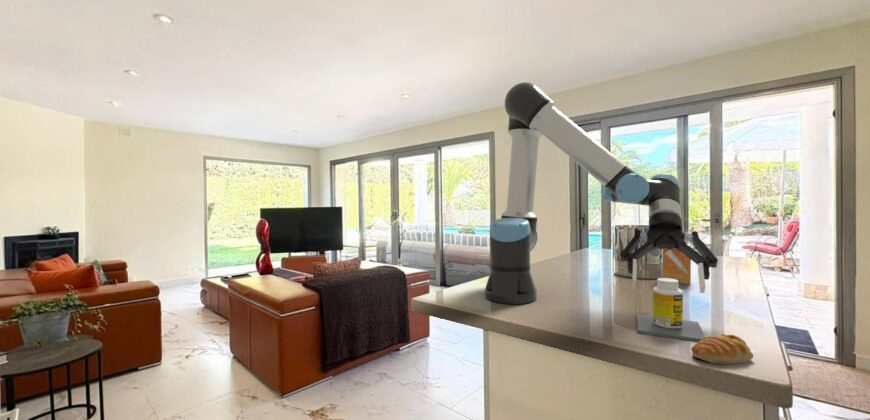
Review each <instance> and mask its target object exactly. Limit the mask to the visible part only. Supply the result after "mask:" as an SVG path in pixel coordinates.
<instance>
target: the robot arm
mask: <svg viewBox="0 0 870 420" xmlns="http://www.w3.org/2000/svg"><path fill="white" fill-rule="evenodd" d="M504 110H505V112H506V114H507V115H508V127H507V128H508V129H507V133H508V134H509V136H511V138H512V139H511V148H510V161H509V162H510V163H509V176H508V186H507V187H508V188H507V198H506V199H507V201H506V209H505V211H503V212H502V213H501V217H500V218H498V219H494V220H493V221H491V222H490V226H489V245H490V246H489V253H490V254H489V257H490V272H489V276H488V278H487V281H486V284H485V288H484V297H485V299H486V300H489V301H491V302H494V303H499V304H509V305H520V304H521V305H522V304H523V305H524V304H529V303H533V302H535V301H537V296H538V295H537V292H538V291H537V288H536V284H535V282H534V280H533V279H534V278H533V276H532V274H531V273H532V272H531V251H533V249H534V248H536V245H537V242H538V232H537V225H538V224H537V223H538V216H537V214H536V213H535V212H534V205H535V204H534V202H535V191H536V190H535V189H536V179H537V178H536V177H537V170H538V169H537V165H538V157H539V155H538V154H539V144H540V138H541V137H542V136H544V137H545V138H547V139H548V140H549V141H550V142H551V143H552V144H554V145H555V146H556V147H557V148H558V149H560V150H561V152H563V153H565V154H566V155H567V156H568V157H569V158H570V159H572V160H573V161H574V162H575V163H576V164H578V165H579V166H580V167H581V168H582V169H583V170H585V171H586V172H587V173H588V174H589V175H591V176H592V178H594V179H595V180H596V181H598V182H599V183H600V184H601V185H602V186H604V187H603V195H602V197H603V200H605V201H607V202H613V203H620V204H621V203H622V204H627V205H628V204H629V205H630V204H632V205H639V206H648V231H647V232H644V231H643V232H642V231H641V229H636V230H635V232H634V236H633V237H632V239H631V240H630V241H629V242H628V243H627V245H626V246H625V247H624V249H623V250H622V251H621V253H620V261H621V262H622V263H623V262H626V263H627V273H628V274H632V287H635V288H637V271H638V270H637V269H638V268H637V267H638V262H637V261H638V260H640V259H641V258H642V257H644V256H645V255H646V254H648V253H650V252H651V251H653V250H655V249H656V248H658V249H659V250H663V249H665V248H666V249H673V248H675V249H677V250H678V251H679V252H682V253H683V254H685V255H686V256H687V257H688V258H690V259H691V261H692V262H694V264H696V265H697V266H698V267H697V273H698V274H697V275H698V283H699V284H698V285H699V293H700V294H705V290H706V282H705V281H706V280H709V279H710V275H711V274H710V268H713V269H714V268H715V269H716V268H717V266H718V261H719V260H718V258H717V256H715V254H714V253H713V252H712V251H711V250H710V249H709V247H708V246H707V245H706V244H705V243H704V241H703V240H701V238H700V236H699V233H698V231H696V230H694V231H692V232H691V233H684V231H683V221H682V210H681V209H682V207H681V196H680V195H681V188H680V183H679V180H678V179H677V177H675V175H672V174H671V173H667V172H666V173H664V172H663V173H660V174H657V173H656V174H654V175H653V176H651V177H650V179H646V177H644V176H643V175H641V174H639V173H636V172H635V171H634V170H633V169H632V168H630V167H629V166H627V165H626V164H625V163H624V162H623V161H621V160H620V159H619V158H618V157H616V156H615V155H614V154H613V153H612V152H610V151H609V150H608V149H607V148H605V147H604V146H603V145H602V144H600V143H599V142H598V141H597V140H596V139H595V138H593V137H592V136H591V135H590V134H588V132H586V131H584V130H583V129H582V128H581V127H580V126H578V125H577V124H576V123H574V121H573V120H571V119H570V118H568V117H567V116H566V115H564V114H563V113H562V112H561V111H560V110H558V109H557V108H556V107H555V101H553V100H552V99H551V98H550V97H549V96H548V95H547V94H545V93H544V92H543V91H542V90H541V89H540V88H539V87H538V86H537V84H534V83H532V82H525V81H524V82H520V83H517V84H515V85H513V86H512V87H511V88H510V89H509V90H508V91H507V93H506V96H505V98H504ZM644 239H647V241H646V242H645V243H644V244H642V245H641V246H639V247H637V246H638V245H640V242H643V240H644ZM685 240H687V241H688V242H689V244H692V245H693V247H694V248H695V249H696V250H695V249H694V248H693V247H692V246H691V247H690V246H688V245H687V244H688V243H687V242H686V241H685ZM636 248H637V249H636ZM635 249H636V250H635Z"/></svg>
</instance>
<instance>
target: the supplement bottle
mask: <svg viewBox="0 0 870 420" xmlns="http://www.w3.org/2000/svg"><path fill="white" fill-rule="evenodd" d="M656 280H657V281H656V282H657V283H656V286H654V287H653V289H652V316H653V322H654V324H656V325H657V326H660V327H663V328H668V329H679V328H681V327H682V326H683V320H684V318H683V317H684V312H683V311H684V309H683V308H684V307H683V306H684V301H683V300H684V295H683V294H684V292H683V290H682V289H680V288H679V287H680V285H679V284H680V283H678V280H676V279H670V278H663V277H660V278H659V277H658V278H657V279H656Z"/></svg>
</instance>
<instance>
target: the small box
mask: <svg viewBox="0 0 870 420" xmlns="http://www.w3.org/2000/svg"><path fill="white" fill-rule="evenodd" d="M686 244H687V245H688V246H690V247H691V248H692V246H691V243H686ZM691 261H692V260H691V259H690V258H688V257H687V256H686V255H685V254H683V253H682V252H679V251H678V250H677V249H675V248H673V249H666V248H665V249H662V278H670V279H676V280H678V284H685V285H691V283H692V281H691V278H692V277H691V276H692V271H691V270H692V269H691V268H692V262H691Z"/></svg>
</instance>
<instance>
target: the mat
mask: <svg viewBox="0 0 870 420" xmlns="http://www.w3.org/2000/svg"><path fill="white" fill-rule="evenodd" d="M636 317H637V318H636V320H637V321H636V322H637V326H636V327H637V334H642V335H649V336H657V337H664V338H669V339H670V338H672V339H677V338H679V339H678V340H685V341H691V342H697V343H698V342H699V341H701V340H702V339H704V338H705V337H706V335H705V333H704V331H703V329H702V327H701V326H700V324H699V322H698V321H695V320H694V321H693V320H686V319H683V326H682V327H681V328H679V329H668V328H663V327H660V326H657V325H656V324H654V322H653V315H646V314H645V315H644V314H636Z"/></svg>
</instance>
